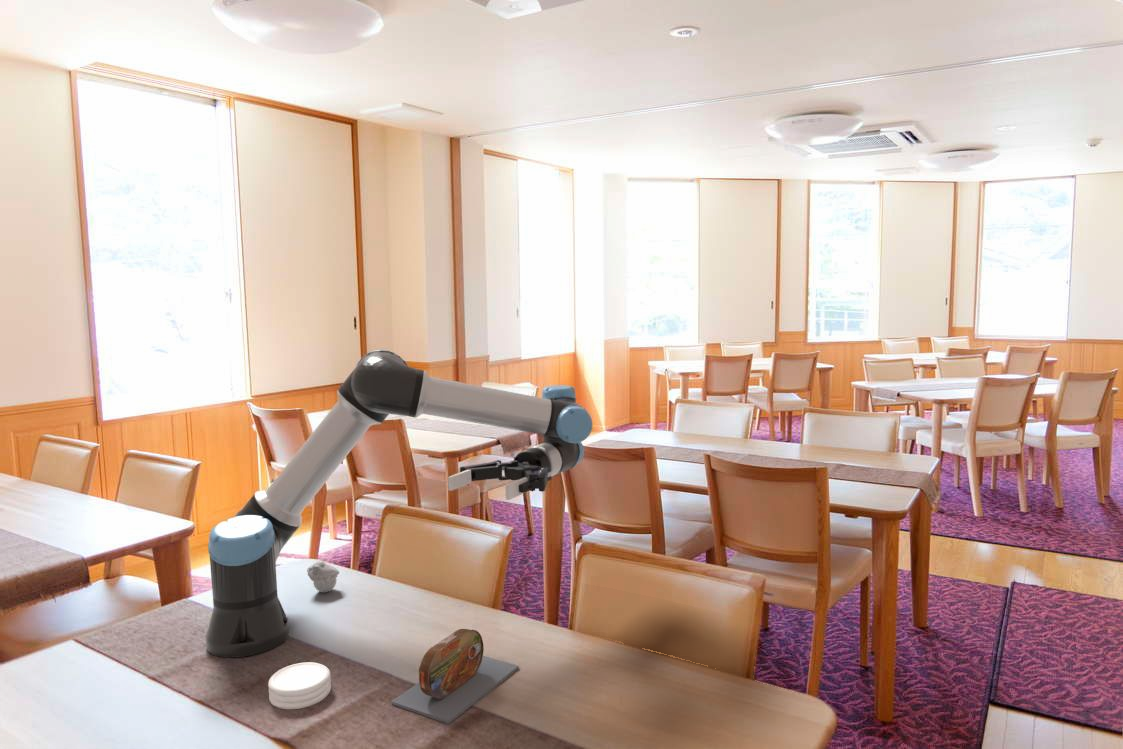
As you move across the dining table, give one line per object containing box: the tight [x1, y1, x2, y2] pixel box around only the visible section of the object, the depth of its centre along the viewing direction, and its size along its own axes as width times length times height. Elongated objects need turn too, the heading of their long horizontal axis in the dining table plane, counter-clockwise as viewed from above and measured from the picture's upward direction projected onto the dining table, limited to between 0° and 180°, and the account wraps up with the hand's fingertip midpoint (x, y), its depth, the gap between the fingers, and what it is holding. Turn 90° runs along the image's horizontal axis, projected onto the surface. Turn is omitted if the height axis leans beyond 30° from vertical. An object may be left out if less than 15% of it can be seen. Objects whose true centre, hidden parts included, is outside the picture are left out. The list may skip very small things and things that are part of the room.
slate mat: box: [391, 655, 519, 725], centre depth 133 cm, size 12×20×1 cm, turn 150°
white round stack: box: [267, 661, 332, 710], centre depth 131 cm, size 10×10×4 cm
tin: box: [418, 628, 485, 699], centre depth 132 cm, size 15×3×8 cm, turn 150°
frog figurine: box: [306, 560, 340, 593], centre depth 174 cm, size 6×7×7 cm
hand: (477, 488), depth 147 cm, fingers open, 13 cm apart
